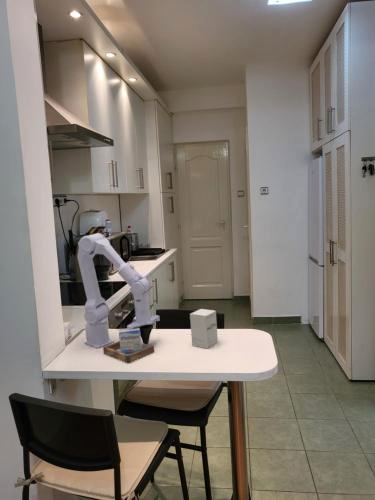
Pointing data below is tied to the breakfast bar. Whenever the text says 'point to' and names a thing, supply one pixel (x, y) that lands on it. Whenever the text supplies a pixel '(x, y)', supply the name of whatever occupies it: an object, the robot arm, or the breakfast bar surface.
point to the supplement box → (203, 328)
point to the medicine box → (130, 340)
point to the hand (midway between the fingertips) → (145, 343)
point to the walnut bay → (112, 352)
